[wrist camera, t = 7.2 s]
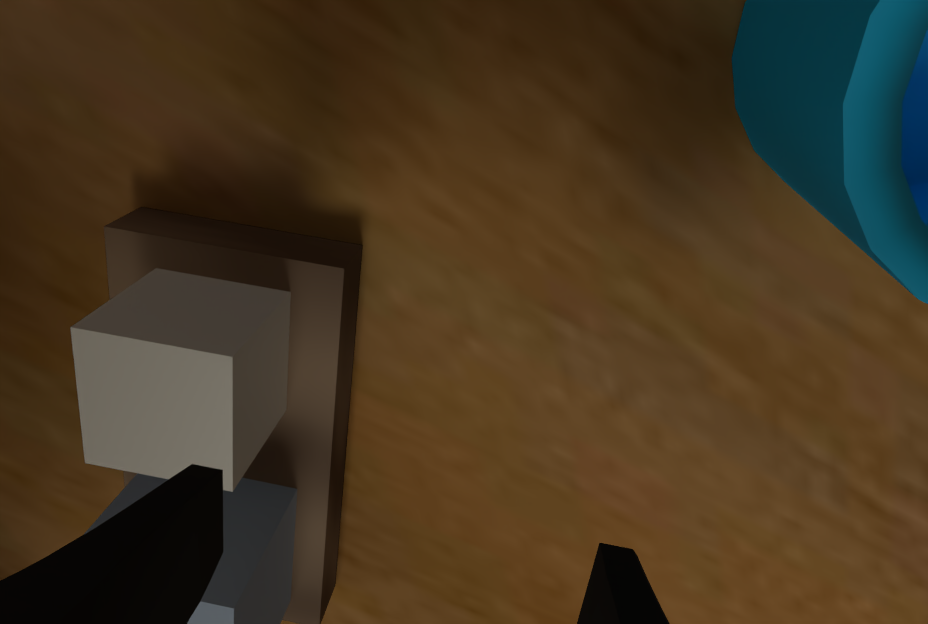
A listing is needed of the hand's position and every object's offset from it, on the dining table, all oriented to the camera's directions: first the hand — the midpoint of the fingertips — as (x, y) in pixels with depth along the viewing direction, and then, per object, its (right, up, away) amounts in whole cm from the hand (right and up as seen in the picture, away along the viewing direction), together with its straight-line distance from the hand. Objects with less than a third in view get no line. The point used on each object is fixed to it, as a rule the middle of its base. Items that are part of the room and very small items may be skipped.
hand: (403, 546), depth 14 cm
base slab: (-6, +1, +11) cm, 13 cm away
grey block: (-6, +4, +8) cm, 11 cm away
